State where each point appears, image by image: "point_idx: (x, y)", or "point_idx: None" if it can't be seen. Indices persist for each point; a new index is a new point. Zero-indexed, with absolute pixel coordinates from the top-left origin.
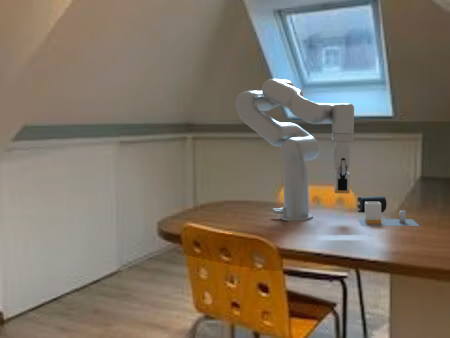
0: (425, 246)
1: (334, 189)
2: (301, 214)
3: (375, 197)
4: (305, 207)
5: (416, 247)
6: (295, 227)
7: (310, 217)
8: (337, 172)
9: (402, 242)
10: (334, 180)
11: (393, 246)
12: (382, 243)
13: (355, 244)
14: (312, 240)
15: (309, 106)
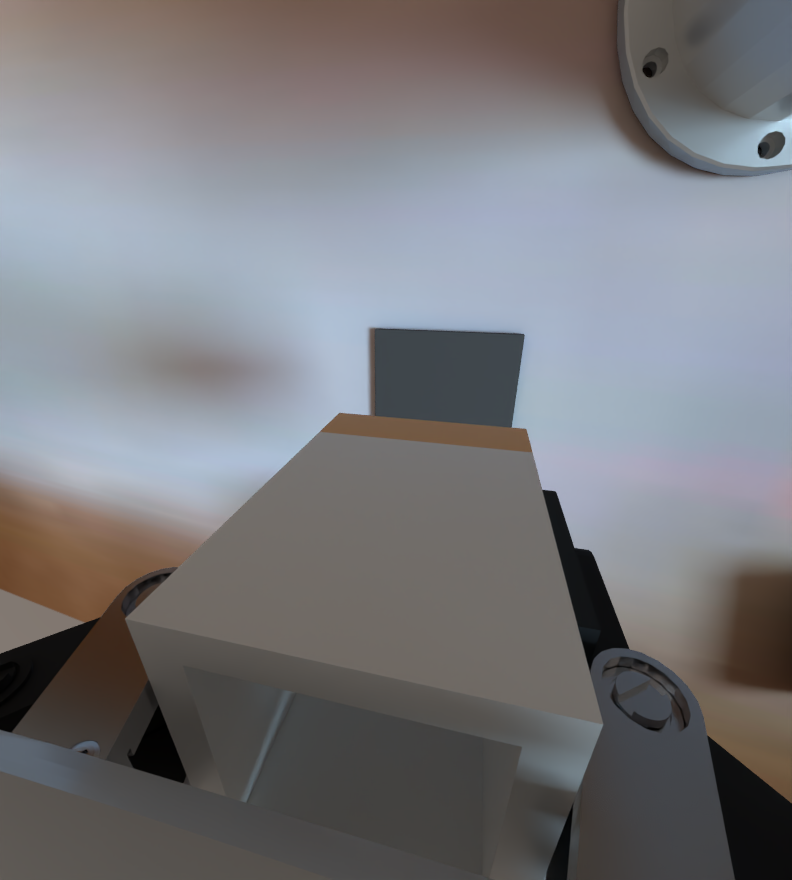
0: (107, 595)
1: (465, 436)
2: (693, 11)
3: None
4: (763, 23)
5: (86, 569)
6: (370, 14)
7: (680, 145)
8: (512, 761)
9: (135, 554)
10: (517, 516)
11: (73, 513)
12: (100, 491)
13: (49, 392)
14: (41, 184)
15: None
